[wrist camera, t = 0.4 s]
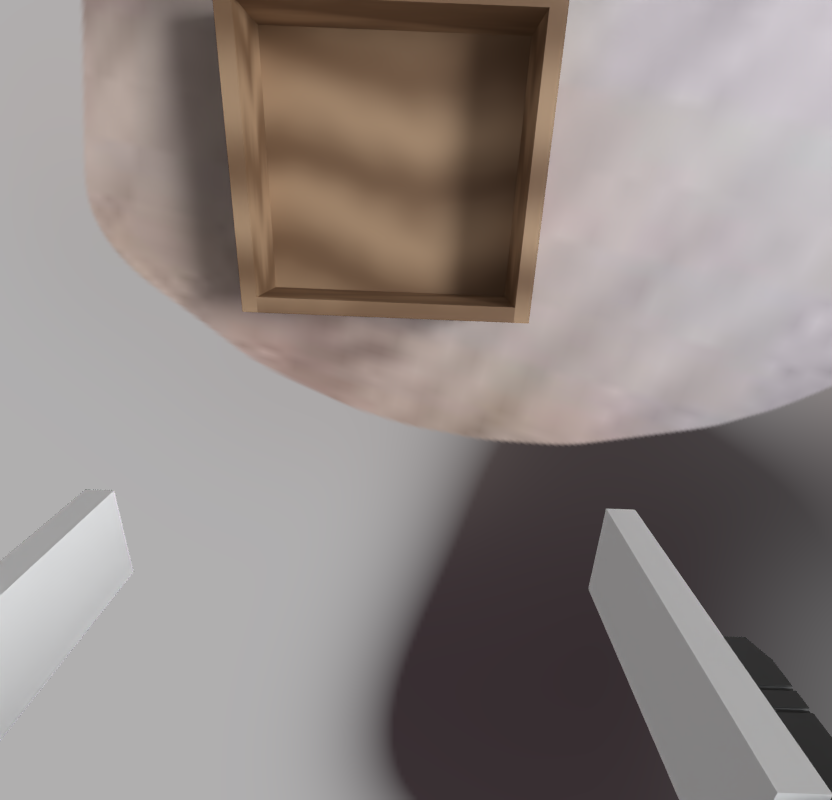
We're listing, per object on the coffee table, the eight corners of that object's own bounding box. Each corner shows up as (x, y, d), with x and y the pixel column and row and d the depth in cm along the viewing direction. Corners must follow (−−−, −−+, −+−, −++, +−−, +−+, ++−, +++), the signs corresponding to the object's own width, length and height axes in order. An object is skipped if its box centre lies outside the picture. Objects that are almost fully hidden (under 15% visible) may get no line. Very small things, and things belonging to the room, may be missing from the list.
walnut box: (245, 10, 30) (209, -31, 25) (546, 23, 30) (571, -16, 25) (267, 297, 37) (242, 311, 32) (513, 307, 37) (528, 323, 32)
